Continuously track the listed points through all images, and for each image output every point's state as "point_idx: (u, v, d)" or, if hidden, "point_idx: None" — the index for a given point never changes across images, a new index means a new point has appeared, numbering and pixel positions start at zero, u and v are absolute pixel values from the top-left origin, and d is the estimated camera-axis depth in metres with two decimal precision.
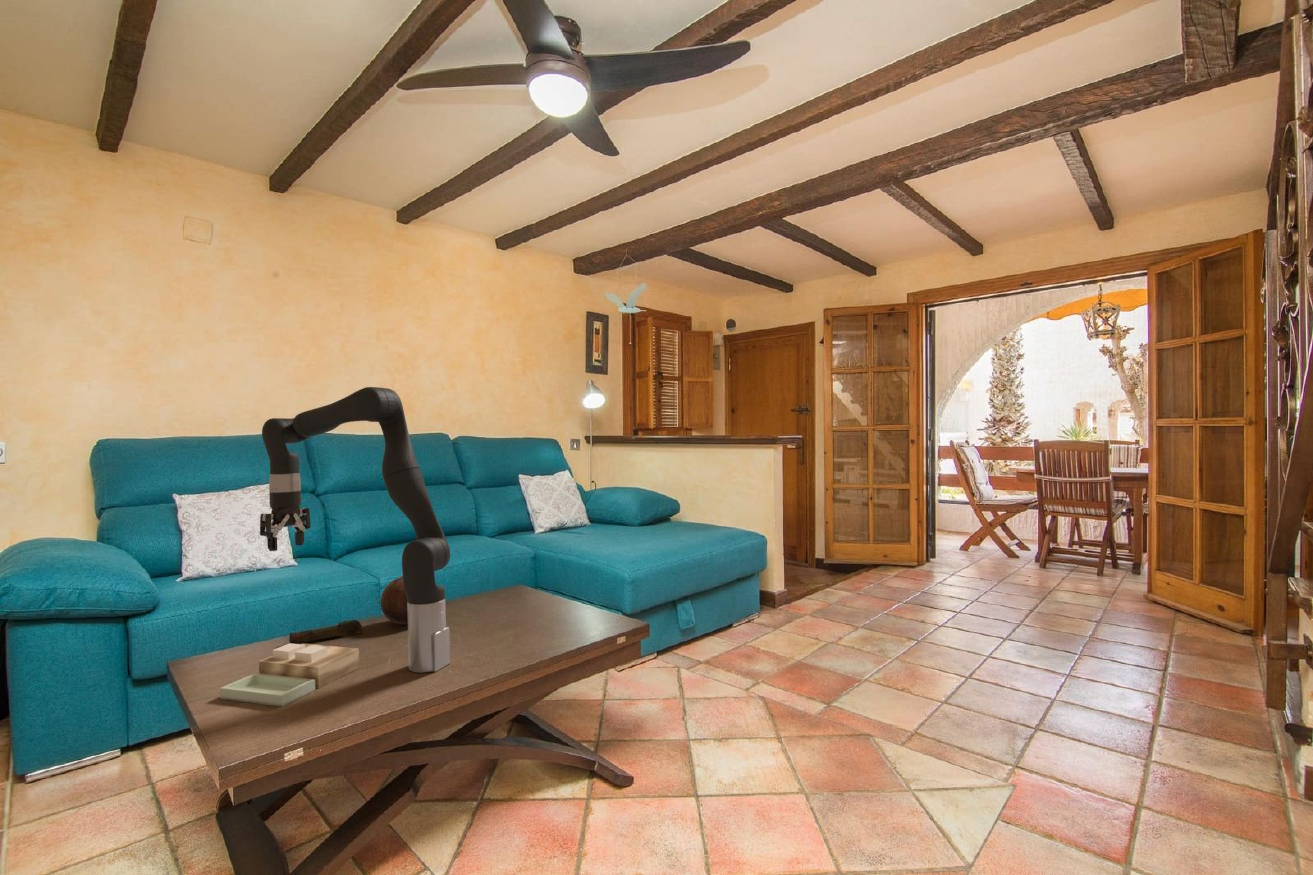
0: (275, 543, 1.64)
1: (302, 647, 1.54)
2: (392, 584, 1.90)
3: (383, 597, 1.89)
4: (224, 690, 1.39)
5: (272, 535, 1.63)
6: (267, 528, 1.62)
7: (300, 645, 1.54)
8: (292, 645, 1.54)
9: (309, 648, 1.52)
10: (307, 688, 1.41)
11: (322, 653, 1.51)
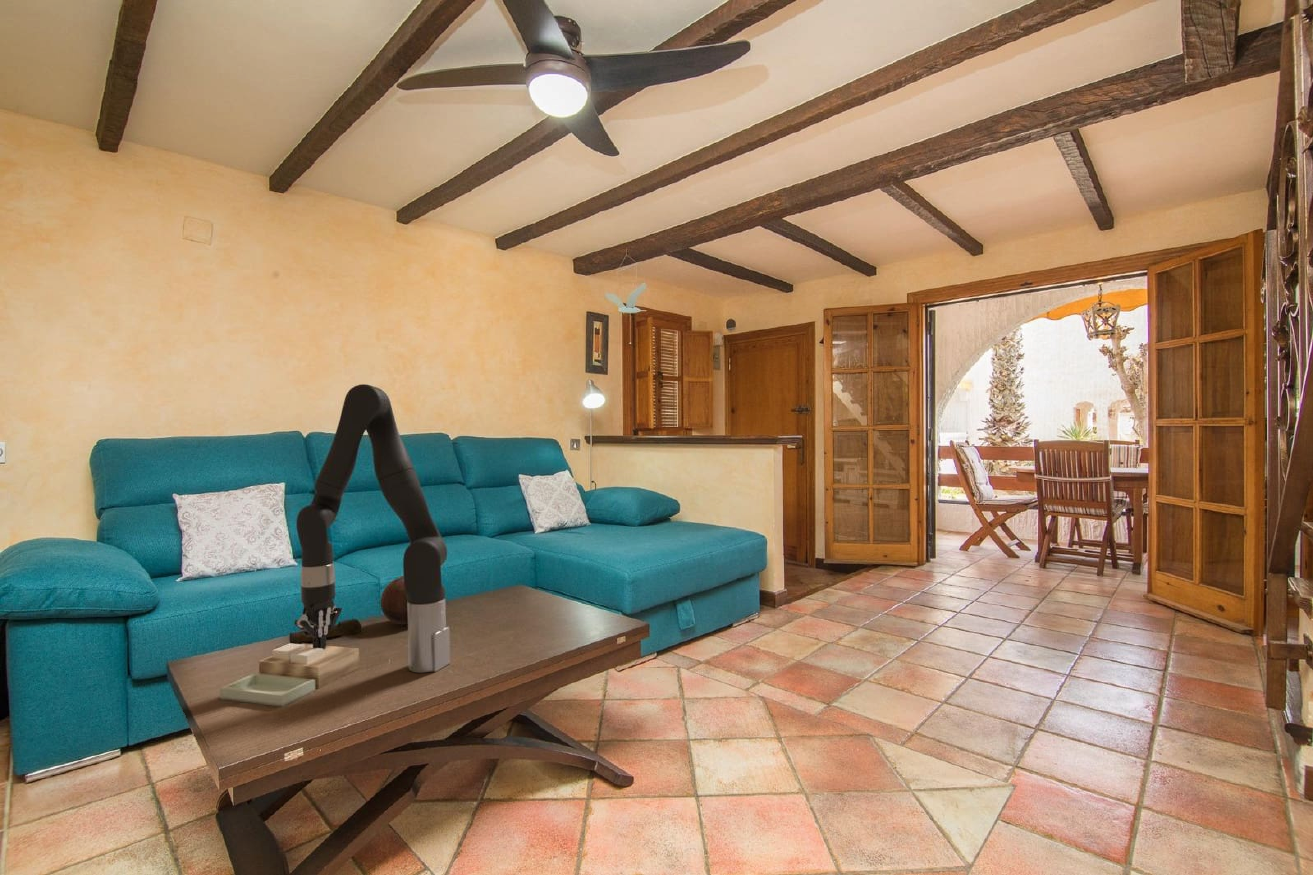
0: (321, 643, 1.52)
1: (302, 647, 1.54)
2: (392, 584, 1.90)
3: (383, 597, 1.89)
4: (224, 690, 1.39)
5: (318, 635, 1.52)
6: (310, 632, 1.49)
7: (300, 645, 1.54)
8: (292, 645, 1.54)
9: (305, 650, 1.50)
10: (307, 688, 1.41)
11: (318, 655, 1.50)
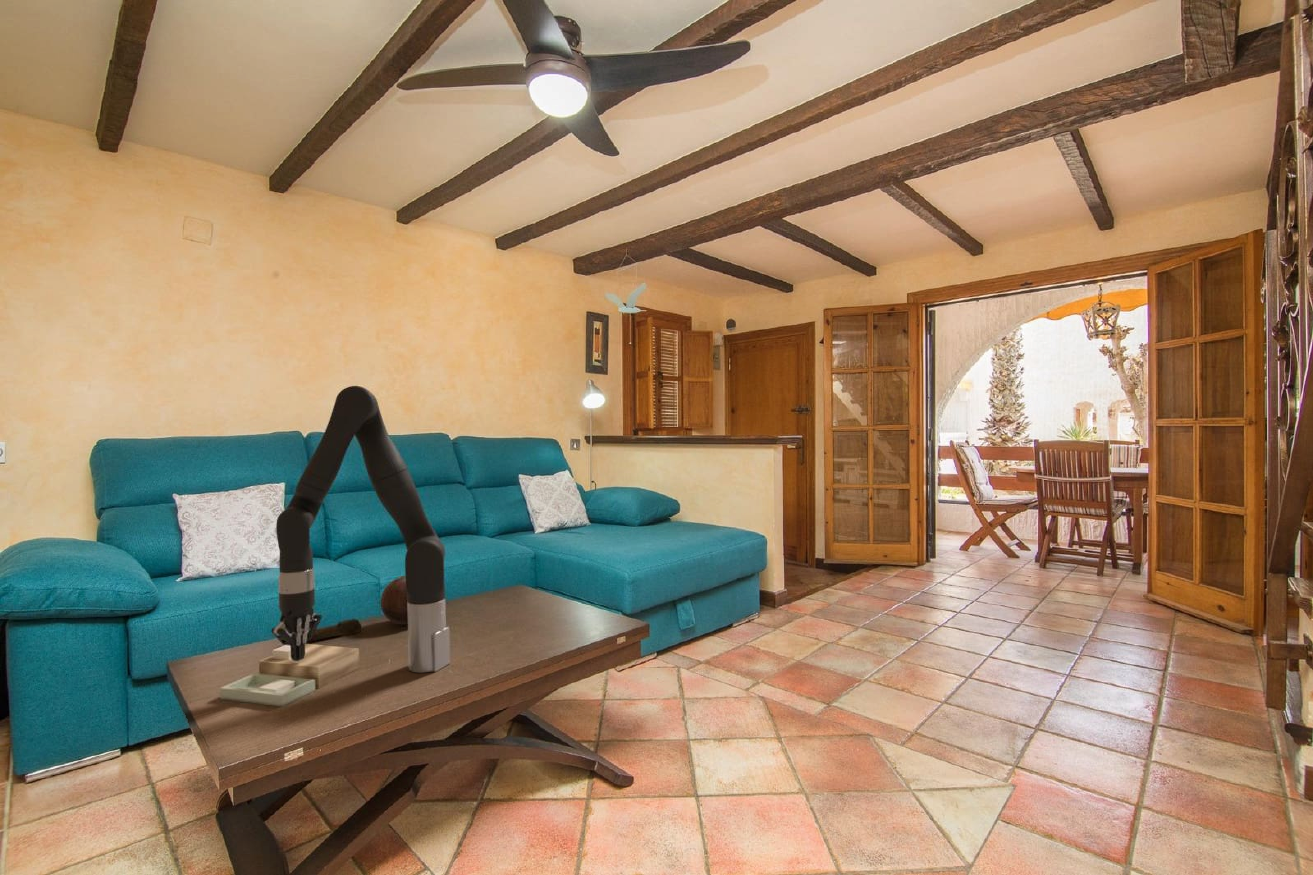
0: (299, 652, 1.46)
1: None
2: (392, 584, 1.90)
3: (383, 597, 1.89)
4: (224, 690, 1.39)
5: (296, 643, 1.46)
6: (287, 640, 1.43)
7: None
8: None
9: None
10: (307, 688, 1.41)
11: (282, 690, 1.39)
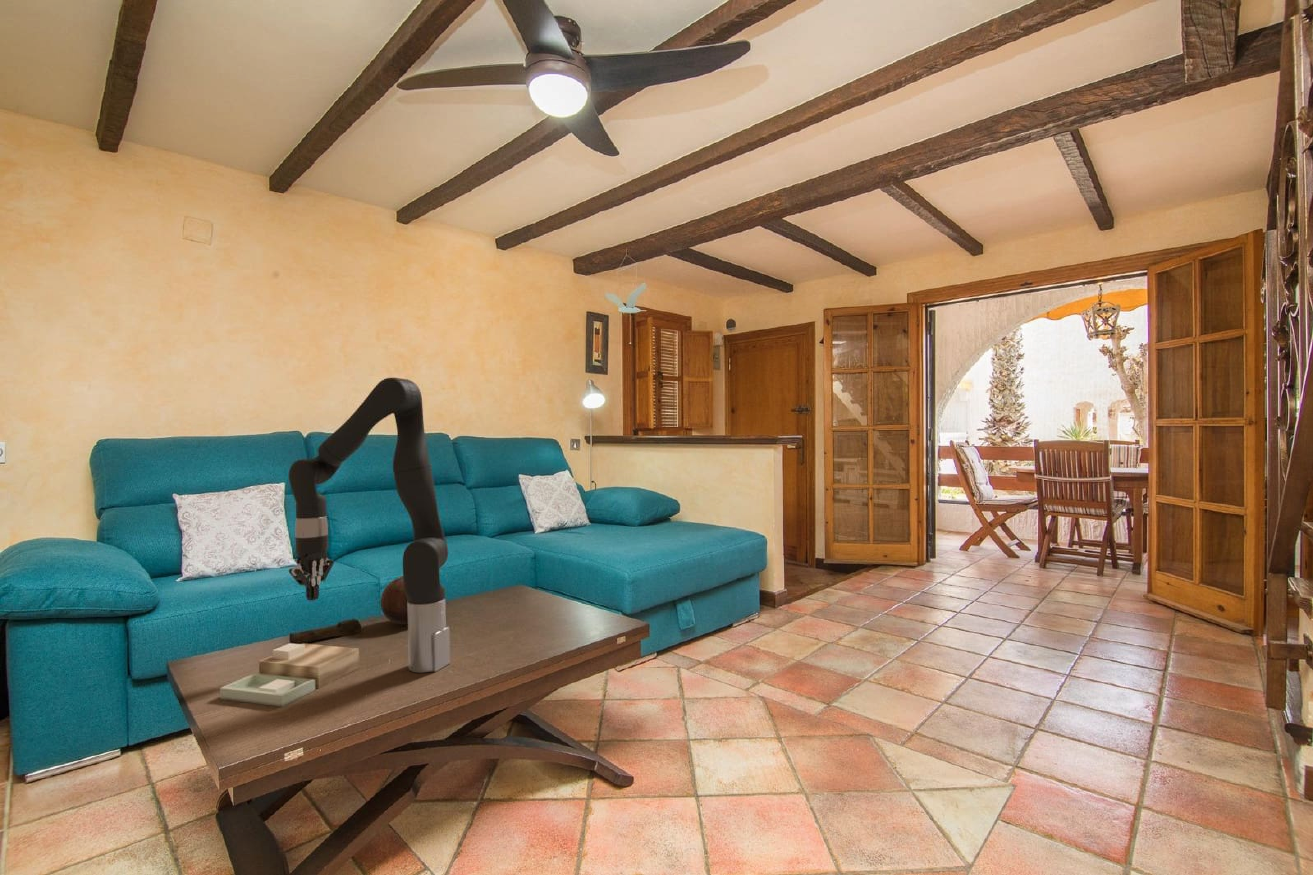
0: (314, 592, 1.59)
1: (302, 647, 1.54)
2: (392, 584, 1.90)
3: (383, 597, 1.89)
4: (224, 690, 1.39)
5: (311, 584, 1.58)
6: (304, 580, 1.56)
7: (300, 645, 1.54)
8: (292, 645, 1.54)
9: None
10: (307, 688, 1.41)
11: (282, 690, 1.39)
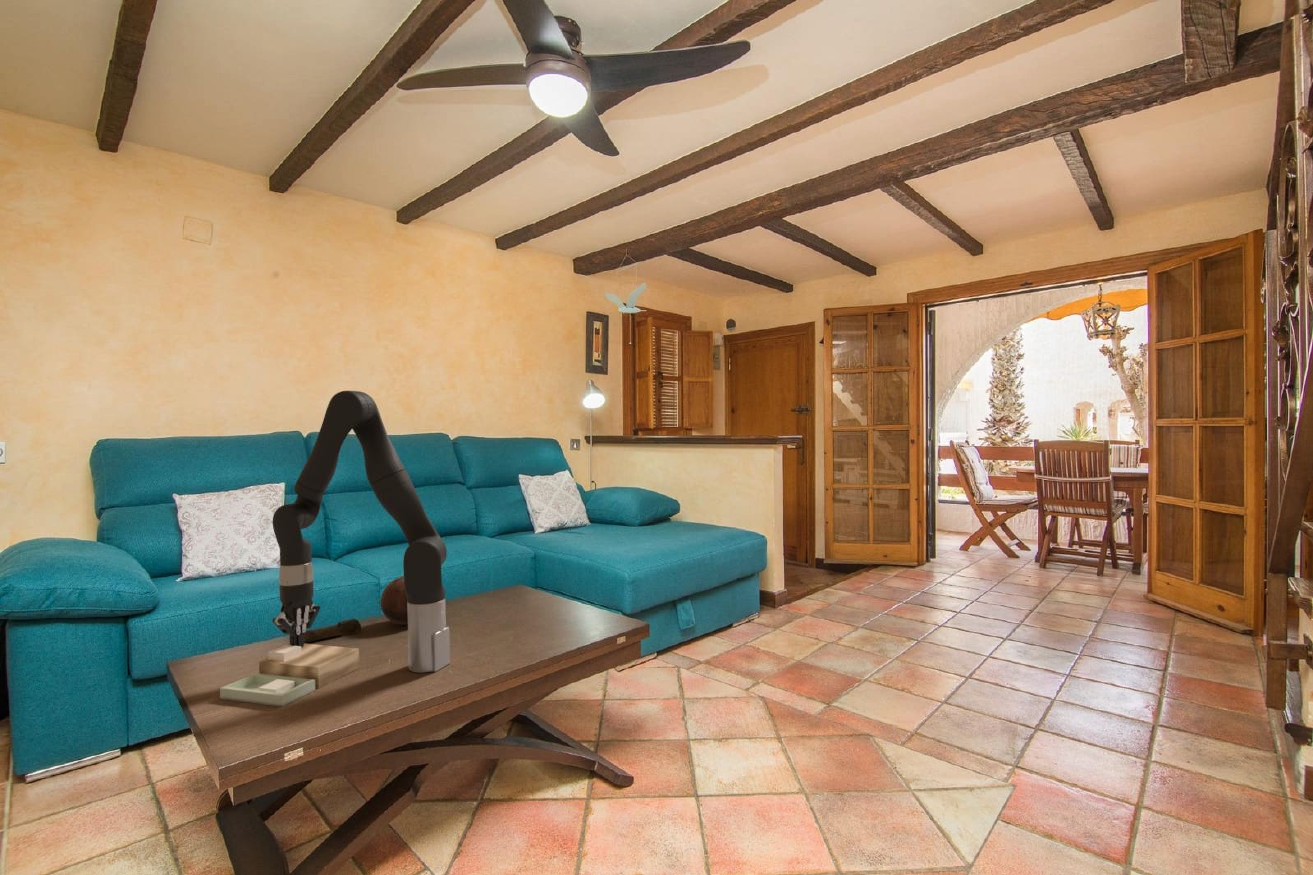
0: (299, 641, 1.54)
1: (298, 649, 1.52)
2: (392, 584, 1.90)
3: (383, 597, 1.89)
4: (224, 690, 1.39)
5: (296, 633, 1.54)
6: (288, 630, 1.51)
7: (296, 647, 1.53)
8: (288, 647, 1.53)
9: None
10: (307, 688, 1.41)
11: (282, 690, 1.39)
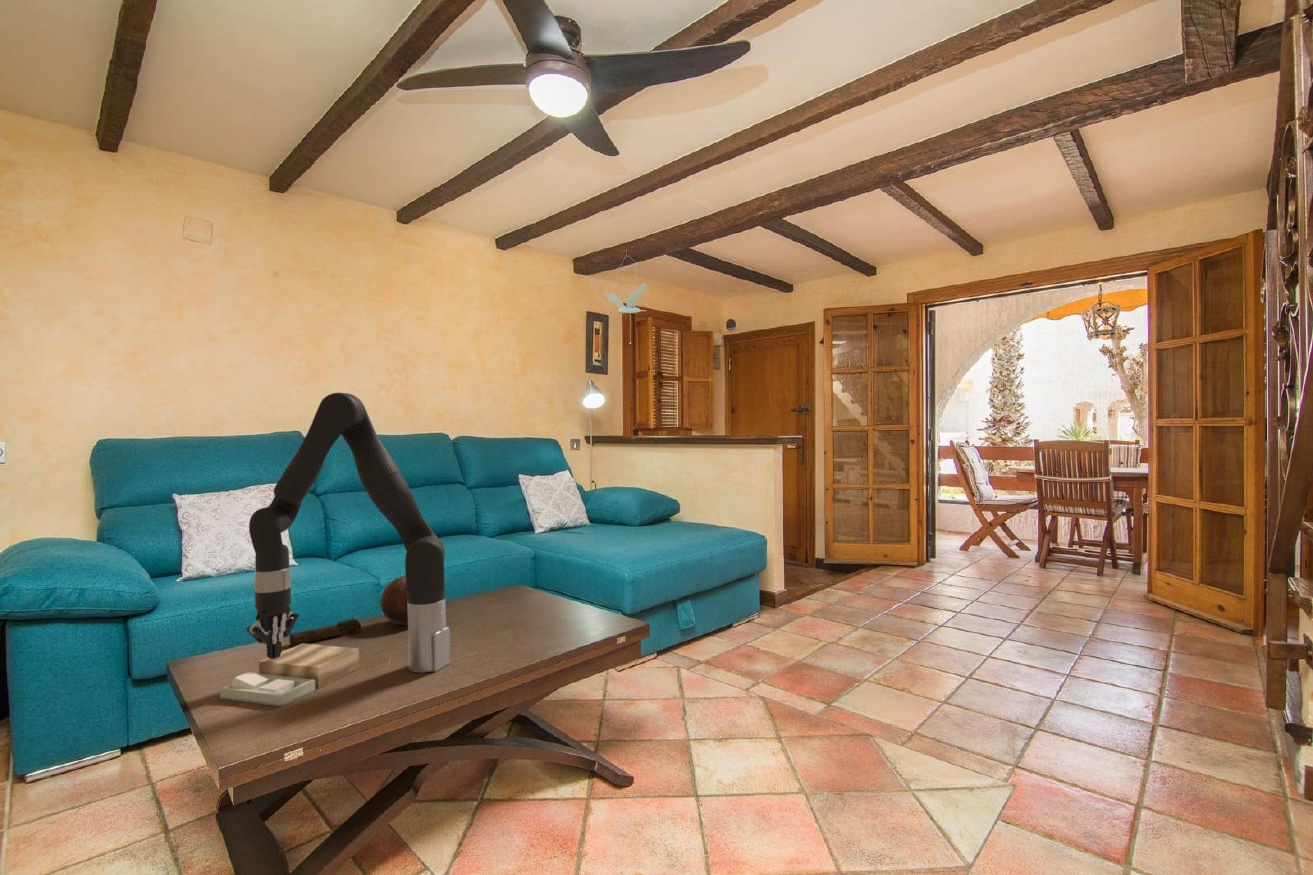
0: (275, 650, 1.48)
1: None
2: (392, 584, 1.90)
3: (383, 597, 1.89)
4: (224, 690, 1.39)
5: (272, 642, 1.47)
6: (263, 639, 1.45)
7: None
8: None
9: None
10: (307, 688, 1.41)
11: (282, 690, 1.39)
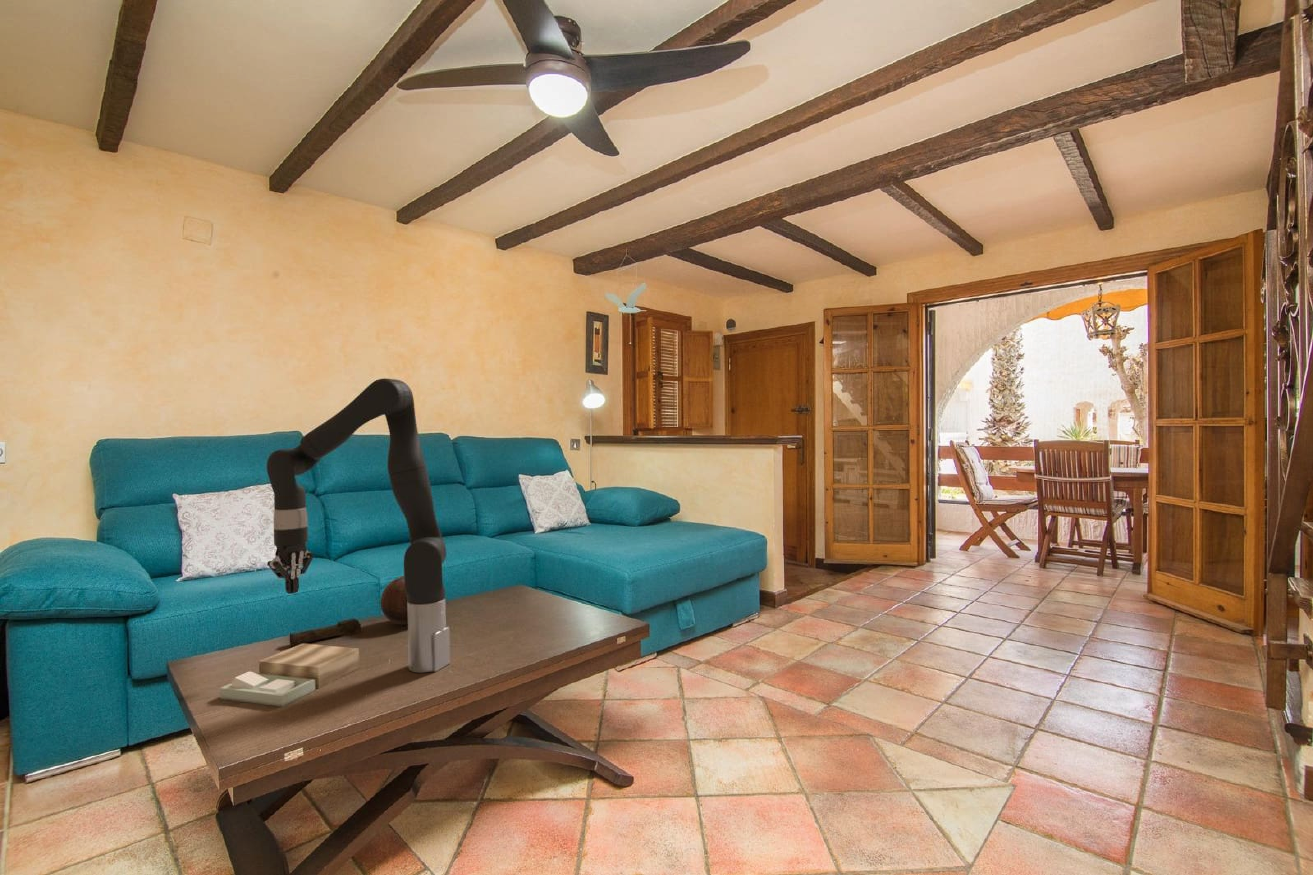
0: (293, 585, 1.56)
1: None
2: (392, 584, 1.90)
3: (383, 597, 1.89)
4: (224, 690, 1.39)
5: (290, 577, 1.55)
6: (282, 573, 1.53)
7: None
8: None
9: None
10: (307, 688, 1.41)
11: (282, 690, 1.39)
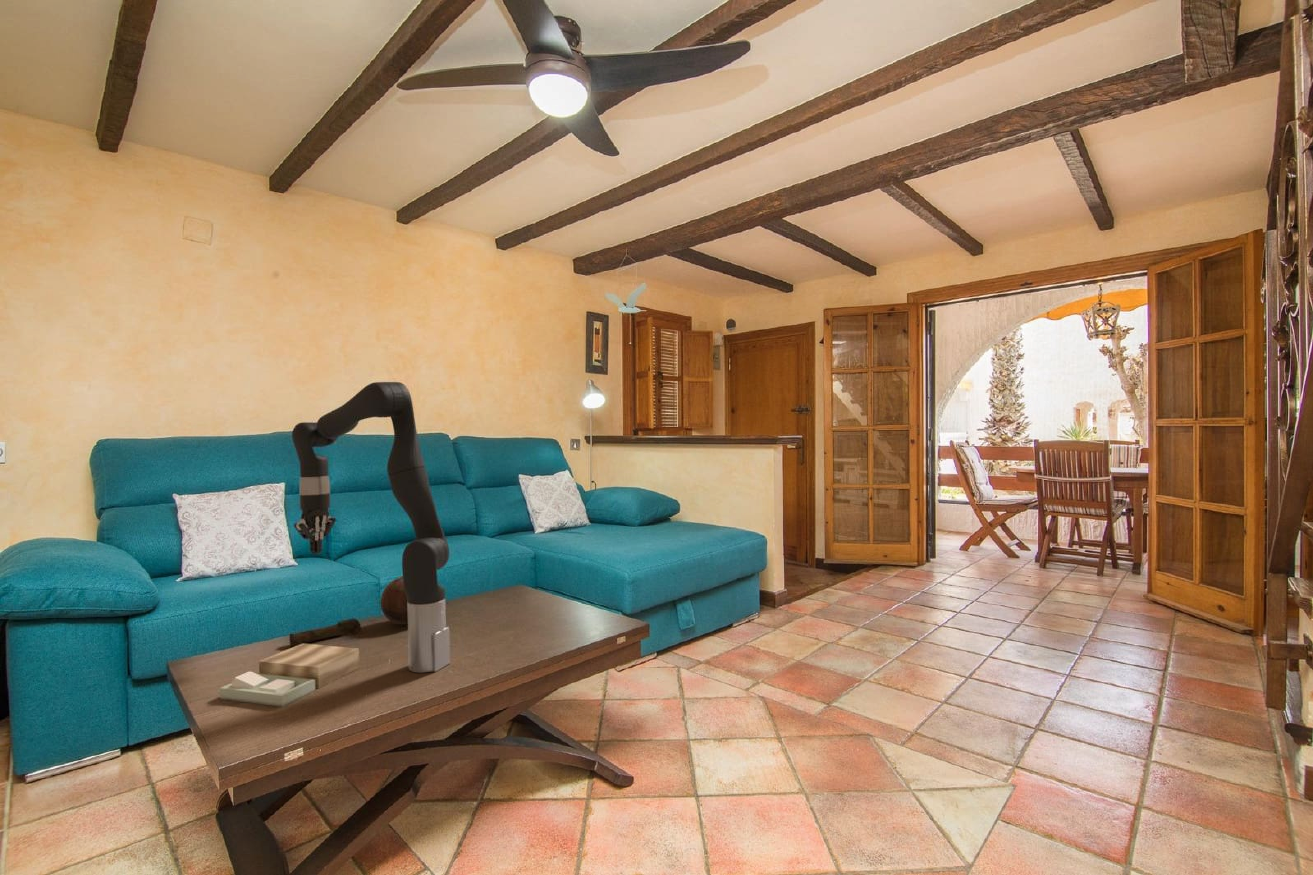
0: (317, 546, 1.71)
1: None
2: (392, 584, 1.90)
3: (383, 597, 1.89)
4: (224, 690, 1.39)
5: (314, 538, 1.71)
6: (307, 534, 1.68)
7: None
8: None
9: None
10: (307, 688, 1.41)
11: (282, 690, 1.39)
